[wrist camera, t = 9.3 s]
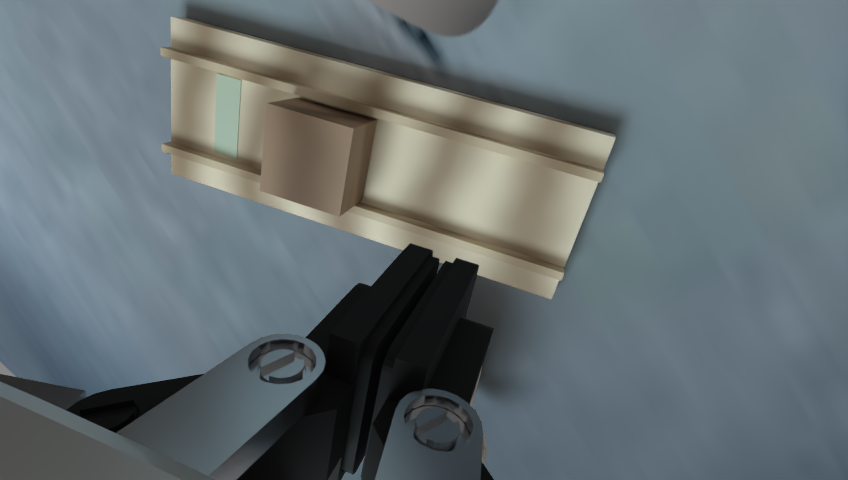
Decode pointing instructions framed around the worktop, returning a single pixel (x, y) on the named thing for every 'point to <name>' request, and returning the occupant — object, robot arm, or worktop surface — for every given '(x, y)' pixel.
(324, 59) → the birch rail board
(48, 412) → the robot arm
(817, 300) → the worktop surface
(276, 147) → the walnut slider
